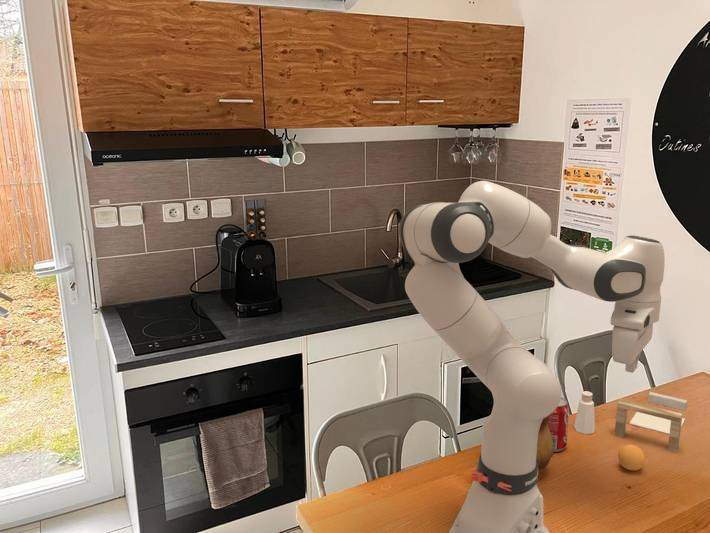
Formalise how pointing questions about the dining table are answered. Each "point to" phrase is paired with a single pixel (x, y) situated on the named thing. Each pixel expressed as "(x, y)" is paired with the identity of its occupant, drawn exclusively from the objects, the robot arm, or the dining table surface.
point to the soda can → (559, 425)
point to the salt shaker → (585, 414)
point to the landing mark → (652, 422)
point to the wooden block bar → (667, 401)
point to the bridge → (654, 411)
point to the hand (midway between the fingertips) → (631, 370)
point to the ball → (631, 457)
